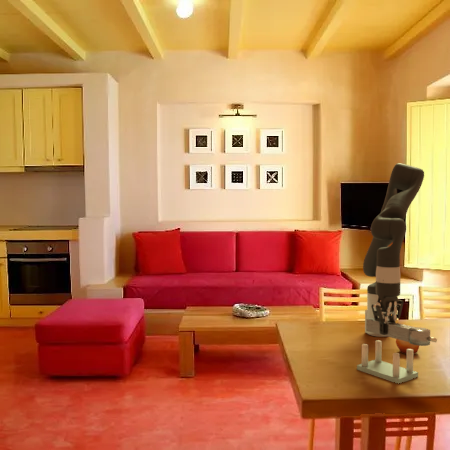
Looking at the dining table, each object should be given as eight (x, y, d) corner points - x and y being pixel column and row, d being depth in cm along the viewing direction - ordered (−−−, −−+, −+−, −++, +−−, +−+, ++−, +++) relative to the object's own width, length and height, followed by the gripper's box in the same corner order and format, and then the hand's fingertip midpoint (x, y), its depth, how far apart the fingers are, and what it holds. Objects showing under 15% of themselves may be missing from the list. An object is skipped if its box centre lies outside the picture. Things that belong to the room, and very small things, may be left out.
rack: (356, 369, 166) (357, 344, 165) (376, 363, 172) (376, 339, 171) (398, 383, 153) (398, 356, 152) (418, 376, 159) (418, 350, 158)
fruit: (418, 345, 187) (419, 329, 183) (419, 361, 181) (419, 346, 177) (395, 343, 190) (395, 328, 186) (395, 359, 184) (395, 344, 180)
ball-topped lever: (363, 331, 165) (363, 319, 165) (375, 328, 169) (375, 316, 169) (429, 348, 146) (429, 335, 146) (441, 345, 150) (441, 332, 149)
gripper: (383, 284, 153) (383, 339, 154) (411, 279, 162) (410, 332, 163) (364, 281, 159) (363, 334, 160) (391, 276, 168) (391, 327, 169)
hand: (387, 333), depth 161 cm, fingers closed on ball-topped lever, 3 cm apart
